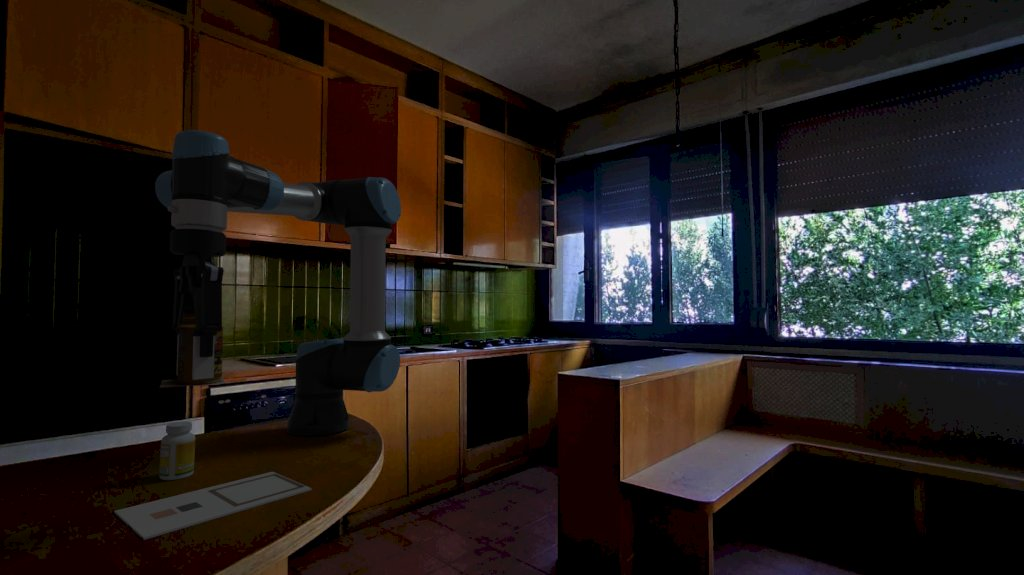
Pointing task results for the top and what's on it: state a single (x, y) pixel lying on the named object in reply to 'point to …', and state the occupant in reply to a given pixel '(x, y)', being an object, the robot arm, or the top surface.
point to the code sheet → (207, 504)
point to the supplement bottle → (177, 452)
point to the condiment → (187, 355)
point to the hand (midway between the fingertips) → (194, 376)
